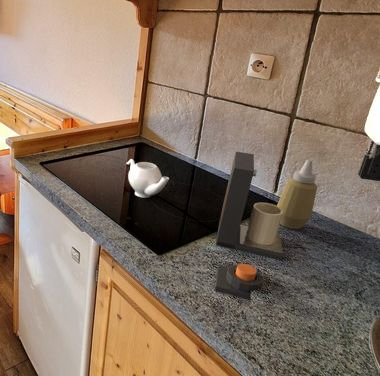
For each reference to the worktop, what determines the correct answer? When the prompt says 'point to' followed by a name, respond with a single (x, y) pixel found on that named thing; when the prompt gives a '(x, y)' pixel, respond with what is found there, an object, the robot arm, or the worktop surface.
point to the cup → (264, 223)
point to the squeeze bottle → (298, 198)
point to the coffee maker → (233, 211)
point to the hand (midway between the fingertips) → (369, 178)
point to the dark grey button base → (236, 282)
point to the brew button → (246, 272)
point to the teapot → (146, 179)
